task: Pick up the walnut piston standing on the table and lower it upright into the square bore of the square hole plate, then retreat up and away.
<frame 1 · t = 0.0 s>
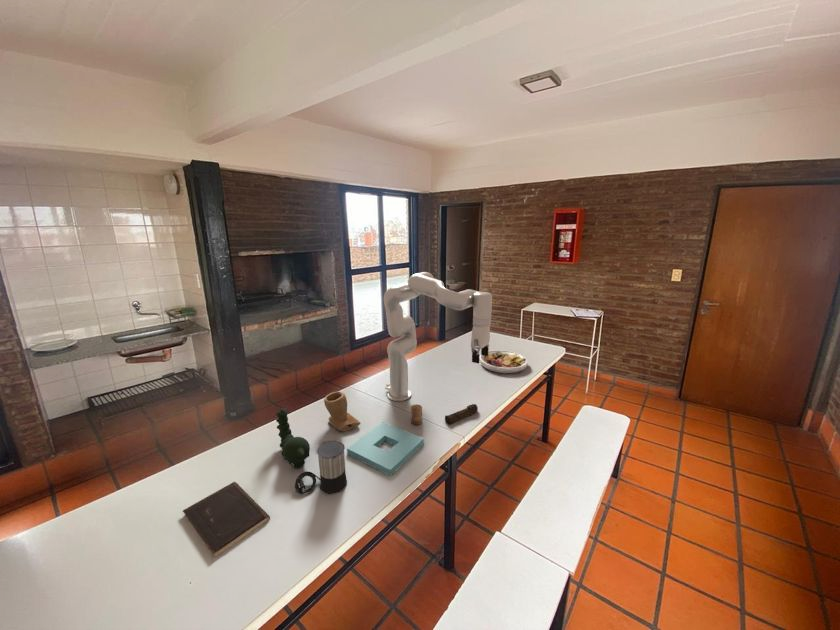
hand: (480, 358, 145), 31 cm above the table, tool pointing down, fingers open, 9 cm apart
toy figurine: (293, 457, 130), on the table
tan boot-shaped piece: (341, 425, 152), on the table
hand tool: (461, 417, 158), on the table
walnut piston: (416, 422, 153), on the table
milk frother: (321, 486, 116), on the table
bowl: (502, 365, 216), on the table
hardcover book: (226, 519, 104), on the table
square hole plate: (386, 448, 135), on the table
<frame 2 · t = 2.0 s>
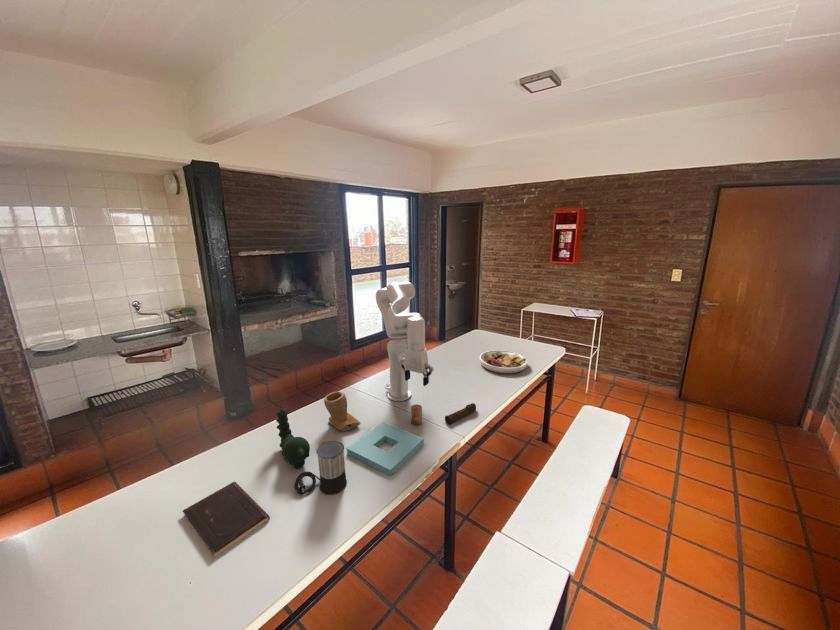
hand: (416, 382, 147), 21 cm above the table, tool pointing down, fingers open, 9 cm apart
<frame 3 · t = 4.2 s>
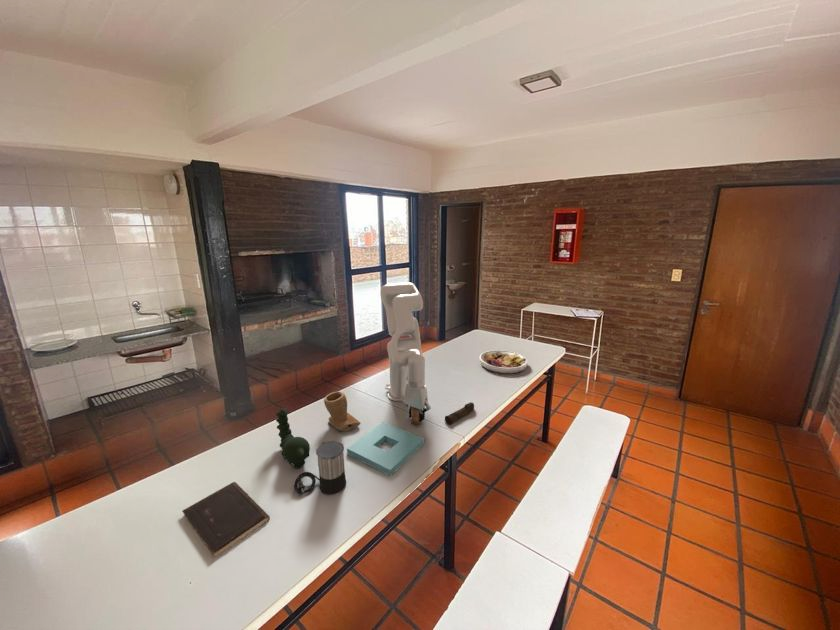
hand: (416, 418, 152), 2 cm above the table, tool pointing down, fingers closed on walnut piston, 5 cm apart
walnut piston: (416, 422, 153), on the table, touching gripper
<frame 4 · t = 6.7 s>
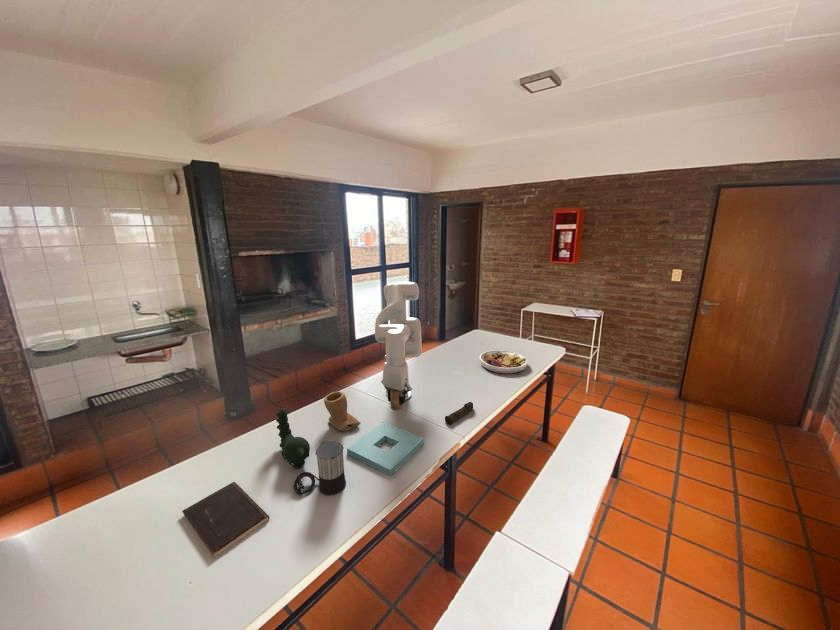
hand: (396, 401, 136), 18 cm above the table, tool pointing down, fingers closed on walnut piston, 5 cm apart
walnut piston: (396, 406, 137), point 16 cm above the table, touching gripper
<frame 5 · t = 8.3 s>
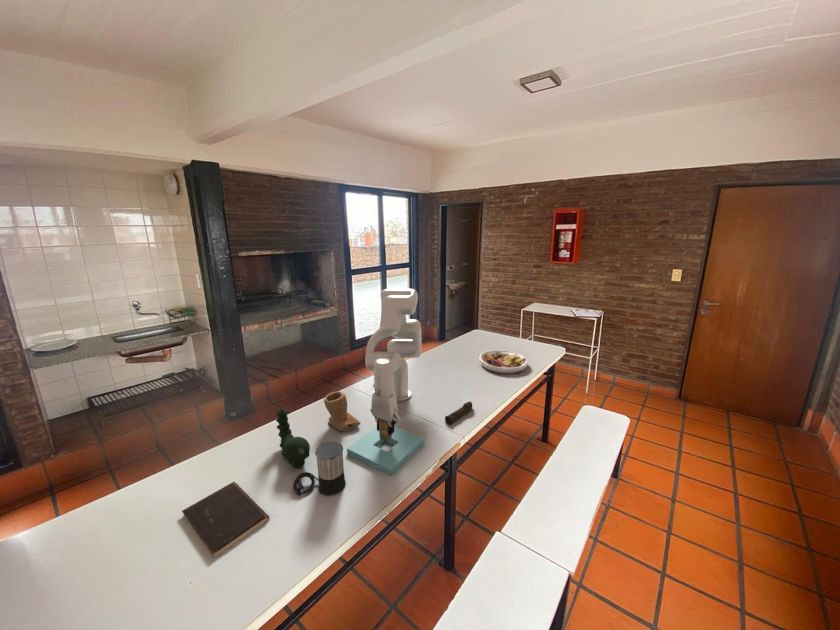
hand: (385, 431, 133), 8 cm above the table, tool pointing down, fingers closed on walnut piston, 5 cm apart
walnut piston: (385, 436, 133), point 6 cm above the table, touching gripper
when the fingers open (4 cm above the table, at t = 9.6 s): walnut piston drops 1 cm, resting in square hole plate.
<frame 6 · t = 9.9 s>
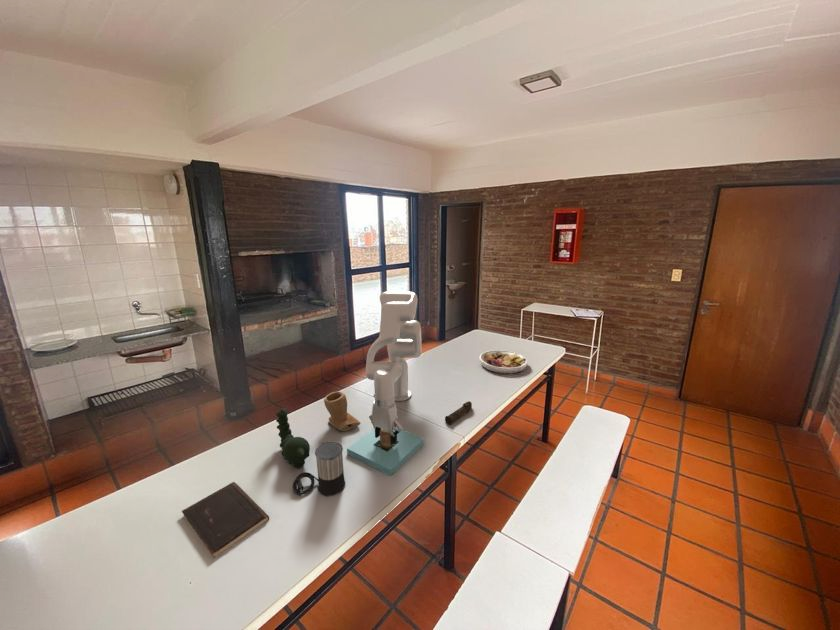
hand: (386, 439, 134), 4 cm above the table, tool pointing down, fingers open, 7 cm apart
walnut piston: (386, 448, 135), resting in square hole plate
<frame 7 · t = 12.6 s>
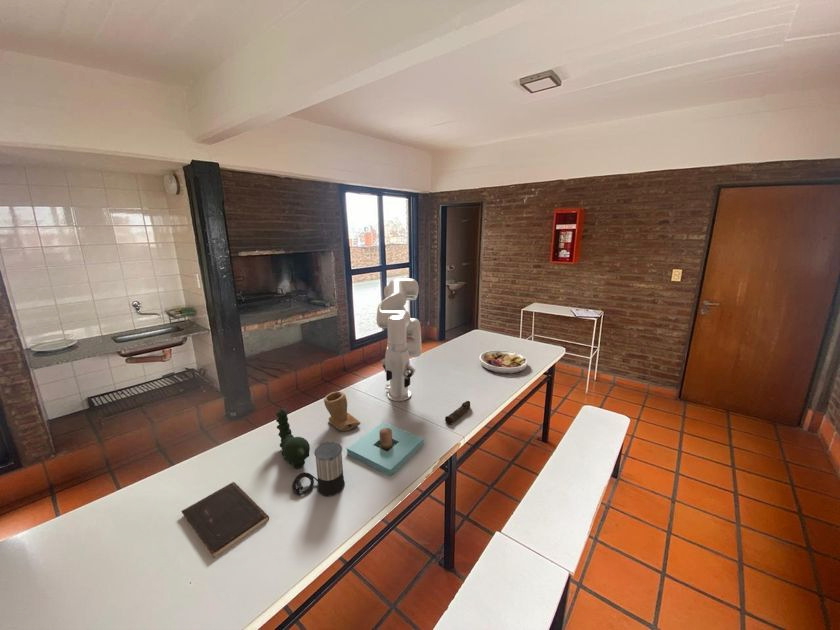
hand: (398, 382, 141), 23 cm above the table, tool pointing down, fingers open, 9 cm apart
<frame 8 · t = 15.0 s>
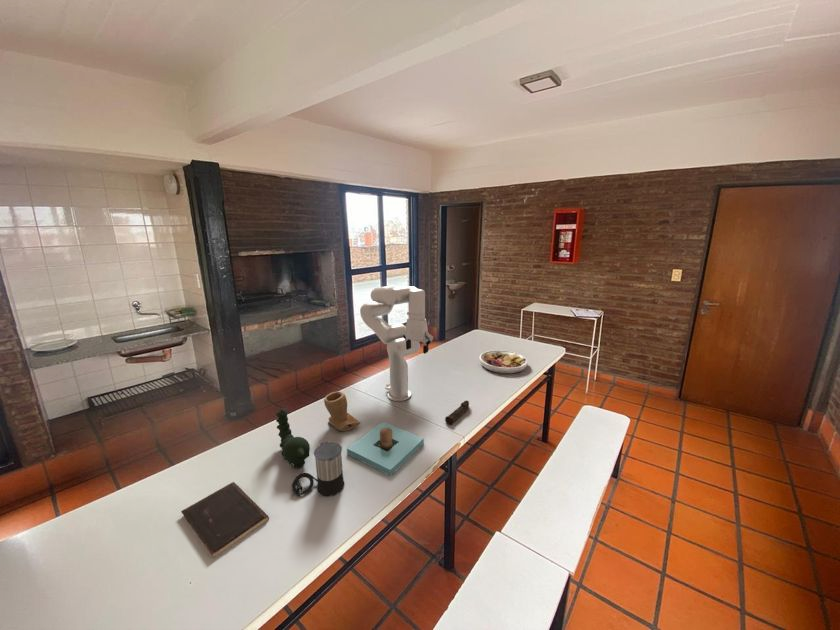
hand: (417, 350, 158), 30 cm above the table, tool pointing down, fingers open, 9 cm apart
at the end: walnut piston 0.1 cm off-centre on the square hole plate, point 0.0 cm above the square hole plate's base; walnut piston tilted 1°; the gripper is holding nothing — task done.
